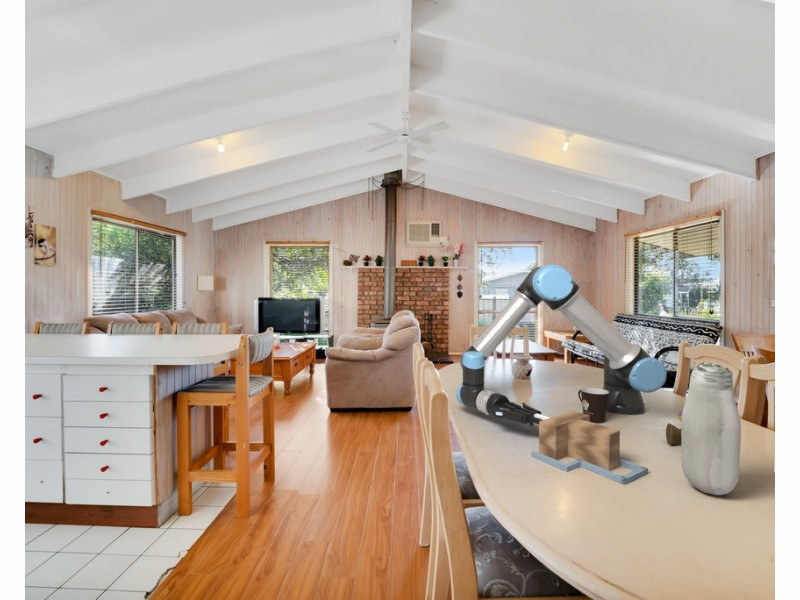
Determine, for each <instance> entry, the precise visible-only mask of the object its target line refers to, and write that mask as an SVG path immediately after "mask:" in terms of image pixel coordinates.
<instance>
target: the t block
mask: <svg viewBox="0 0 800 600" xmlns="http://www.w3.org/2000/svg"><path fill="white" fill-rule="evenodd" d="M538 426H539V427H538V428H539V429H538V430H539V432H538V453H541V454H543V455H546V456H548V457H550V458H553V459H555V460H557V461H559V460H561V459H564V458H566V457H569V458H570V457H571V458H572V459H575V460H578V459H581V460H583V461H586V462H588V463H591V464H593V465H596V466H598V467H601V468H603V469H606V470H608V471H613V470H614V469H617V468H618V467H620V465H619V458H620V451H621V450H620V448H621V447H620V446H621V444H620V441H621V430H618V429H615V428H612V427H610V426H609V427H608V426H605V425H601V424H599V423H591V422H590V415H587V414H584V413H583V412H580V411H576V410H571V411H569V412H568V411H567V412H565V413H561V414H558V415H555V416H552V417H550V418H548V419H545V420H542V421H539V425H538Z"/></svg>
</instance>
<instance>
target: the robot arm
mask: <svg viewBox="0 0 800 600" xmlns="http://www.w3.org/2000/svg"><path fill="white" fill-rule="evenodd" d="M580 292H581V287H580V286H579V284H577V283H576V282H575V280H574V278H573V275H572V274H571V272H570V271H569V270H568V269H567V268H565V267H564V266H561V265H557V264H547V265H543V266H538V267H535V268H534V269H532V270H531V271H530V272H529V273H528V274H527V276H526V277H525V278H524V279H523V280H522V282H521V283H520V284H519V286H518V287H517V288H516V290H514V296H513V297H512V298H511V299H510V301H509V302H508V303H507V304H506V305H505V306H504V307H503V309H502V310H501V311H500V312H499V313H498V314H497V315H496V317H495V318H494V319H493V320H492V321H491V323H490V324H488V326H487V327H486V328H485V329H484V330H483V332H482V333H481V334H480V335H479V336H478V337H477V338H476V340H475V341H473V343H472V344H471V346H469V348H468V349H467V350H465V351H463V353H461V355H460V358H459V363H460V366H461V369H462V384H460V385H459V386H458V387H457V390H456V392H455V396H456V400H457V402H458V403H460V405H463V406H464V407H467V408H470V409H473V410H475V411H479V412H480V413H481V412H482V413H484V414H485V415H486V416H488V415H489V416H491V417H493V418H496V419H505V420H508V421H512V422H517V423H520V424H524V425H527V424H529V426H530V427H532V426H534V424H535V425H536V426H539V421H542V420H545V419H548V418H551V417H549V416H546V415H543V414H542V411H540V410H538V409H536V408H534V407H532V406H529V405H528V404H526V403H525V402H522V403H520V404H518V403H516V402H514V401H510V399H509V398H508V397H507V396H506V395H503V394H502V393H498V392H496V391H493V390H488V389H486V388H485V369H486V368H485V364H486V361H487V359H488V358H489V356H491V354H492V353H494V351H495V350H496V349H497V348H498V347H499V345H500V344H501V343H502V342H503V341H504V340H505V338H506V337H507V336H508V335H510V333H511V332H512V331H513V329H514V328H515V327H516V326H517V325H518V324H519V323H520V322H521V320H522V319H524V317H525V316H526V315H527V314H528V312H529V311H530V310H531V309H533V308H537V307H538V305H539V304H540V303H542V302H543V303H544V304H545V305H546V306H548V307H549V308H550V310H552V311H554V312H560V313H561V314H562V315H563V316H564V317H565V318H566V319H567V320H568V321H569V322H570V323H572V325H574V326H575V328H577V330H578V331H579V332H581V334H582V335H584V336H585V338H586V339H587V340H589V342H591V343H592V344H593V345H594V347H596V349H598V350H599V351H600V352H601V353H602V354H603V386H602V389H604V390H607V391H609V396H608V403H607V410H606V412H610V413H611V412H612V413H615V414H623V415H640V414H644V413H645V411H646V405H645V403H644V400H643V397H642V393H647V394H648V393H654V392H656V391H659V390H660V389H661V388H663V385H665V383H666V381H667V373H668V372H667V368H666V366H665V364H663V362H662V361H660V359H657V358H655V357H652V356H651V355H649V353H648V352H647V351H645V349H644V348H643V347H641V346H640V344H637V343H631V342H630V341H629V340H627V339H626V337H625V336H623V334H622V333H620V332H619V331H618V330H617V329H616V327H614V326H613V325H612V324H611V323H610V322H609V321H608V320H607V319H606V318H605V317H604V316H603V315H602V314H601V313H600V312H599V311H598V310H597V309H596V308H595V307H594V306H593V305H592V304H591V303H590V302H589V301H588V300H587V299H586V298H585V297H583V295H582V294H581V293H580ZM641 392H642V393H641Z"/></svg>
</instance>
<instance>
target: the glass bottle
mask: <svg viewBox="0 0 800 600" xmlns="http://www.w3.org/2000/svg"><path fill="white" fill-rule="evenodd" d="M682 410H683V412H682V422H681V427H680V429H681V436H682V442H681V451H680V452H681V454H680V455H681V456H680V457H681V458H680V459H681V461H680V462H681V469H682V472H683V475H684V476H685V478H686V480H687V481H688V483H690V484H691V485H692V486H693V487H694V488H695V489H697V490H698V491H700V492H702V493H705V494H708V495H714V496H723V495H727V494H729V493H730V492H732V491H733V490H734V489H735V487H736V485H737V483H738V480H739V476H740V462H741V461H740V459H741V458H740V457H741V444H742V441H741V440H742V424H741V418H740V413H739V410H738V406H737V402H736V398H735V390H734V379H733V377H732V375H731V373H730V371H729V370H728V369H726V368H724V367H722V366H720V365H716V364H712V363H702V364H699V365H697V366H696V367H694V369H692V371H691V373H690V377H689V386H688V392H687V395H686V399H685V402H684V405H683V409H682Z"/></svg>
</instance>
